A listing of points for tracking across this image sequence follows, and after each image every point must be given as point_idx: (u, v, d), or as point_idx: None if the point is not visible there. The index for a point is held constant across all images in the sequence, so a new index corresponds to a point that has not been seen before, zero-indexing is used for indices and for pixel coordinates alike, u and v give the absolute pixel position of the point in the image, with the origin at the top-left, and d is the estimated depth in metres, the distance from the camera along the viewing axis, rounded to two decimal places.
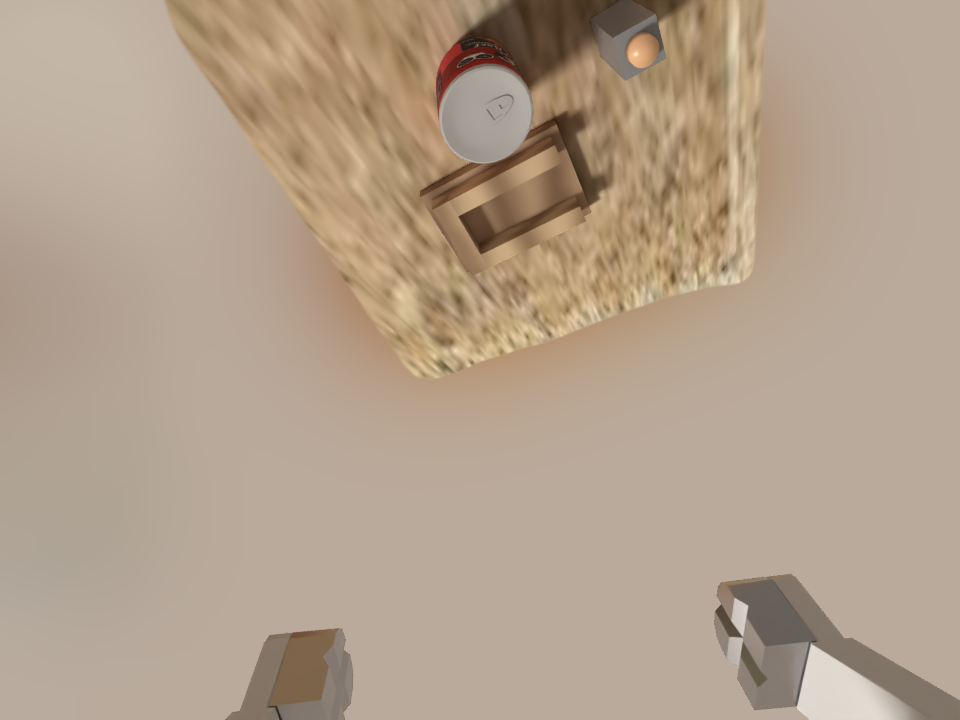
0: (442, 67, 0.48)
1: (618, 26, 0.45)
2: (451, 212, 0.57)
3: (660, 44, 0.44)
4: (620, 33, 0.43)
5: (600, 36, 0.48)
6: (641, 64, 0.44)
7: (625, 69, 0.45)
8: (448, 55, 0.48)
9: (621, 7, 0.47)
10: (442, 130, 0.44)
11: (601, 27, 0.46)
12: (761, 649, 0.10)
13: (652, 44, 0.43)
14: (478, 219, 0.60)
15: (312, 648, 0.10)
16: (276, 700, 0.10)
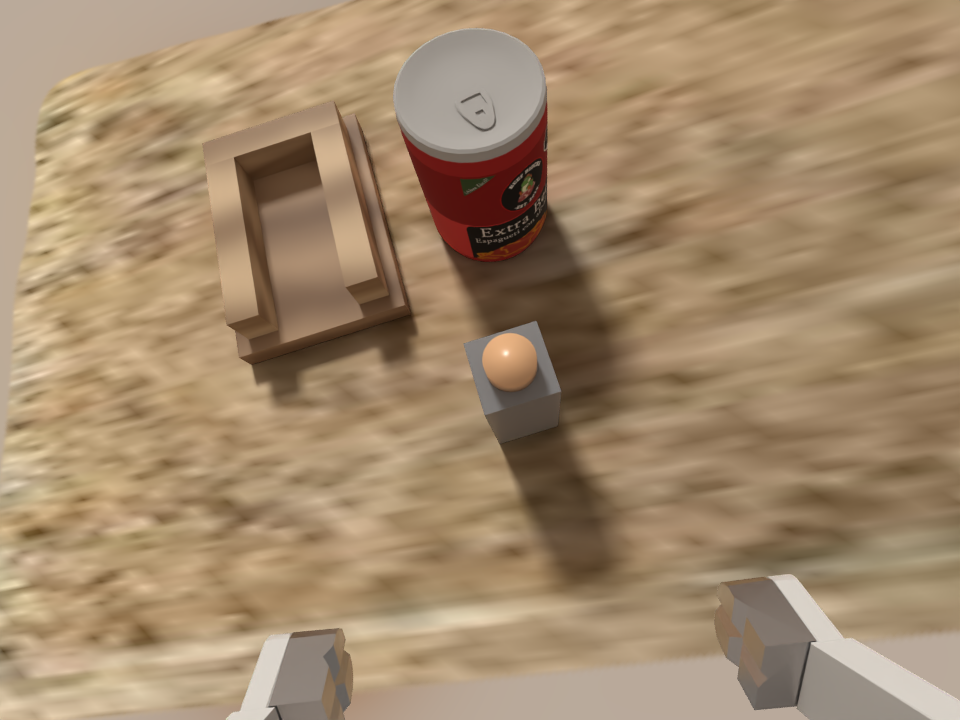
0: None
1: None
2: (319, 124, 0.36)
3: (510, 402, 0.24)
4: (540, 334, 0.25)
5: None
6: (489, 354, 0.24)
7: (481, 343, 0.25)
8: None
9: None
10: (464, 29, 0.27)
11: None
12: (761, 649, 0.10)
13: (519, 371, 0.23)
14: (293, 183, 0.37)
15: (312, 648, 0.10)
16: (276, 700, 0.10)
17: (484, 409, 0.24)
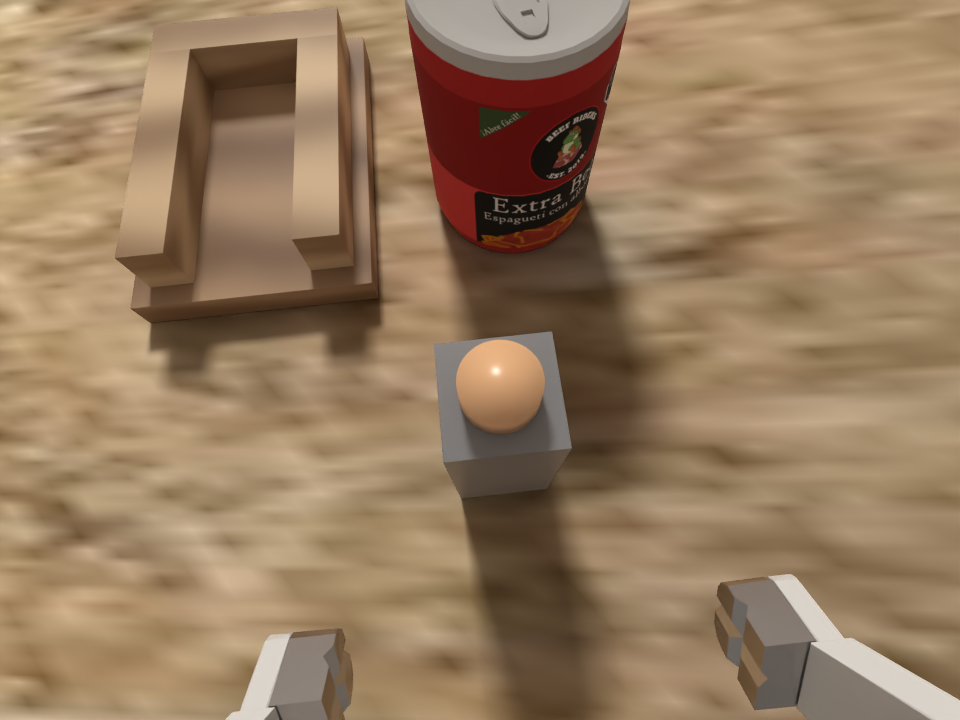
0: None
1: None
2: (312, 30, 0.27)
3: (487, 450, 0.15)
4: (555, 353, 0.16)
5: None
6: (469, 366, 0.15)
7: (462, 349, 0.16)
8: None
9: None
10: None
11: None
12: (761, 649, 0.10)
13: (511, 404, 0.14)
14: (264, 103, 0.29)
15: (312, 648, 0.10)
16: (276, 700, 0.10)
17: (445, 453, 0.15)
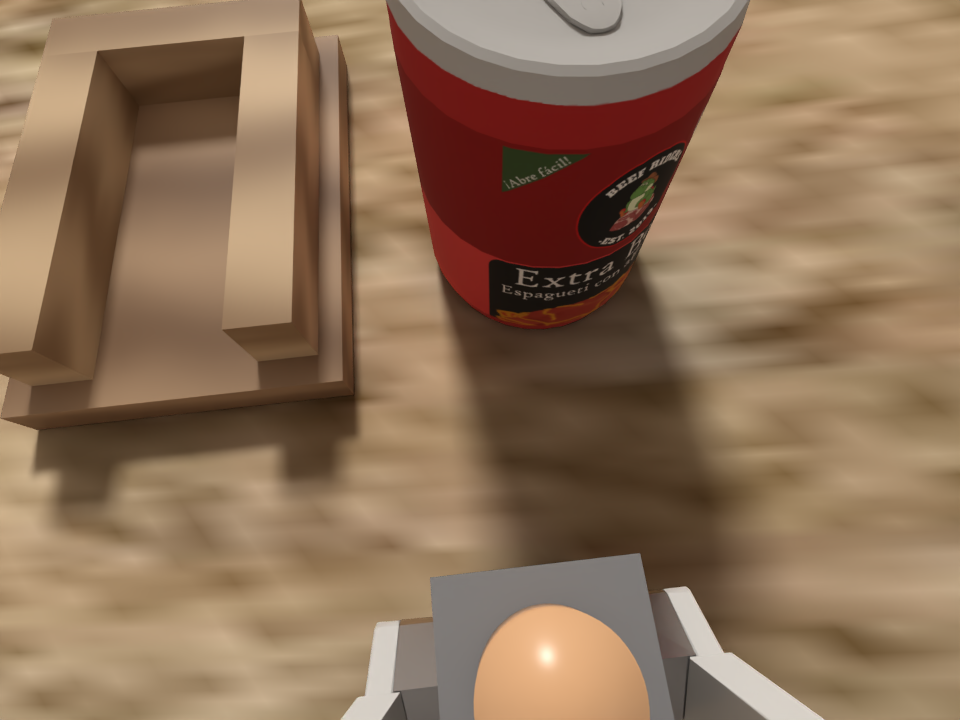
0: None
1: None
2: (264, 26, 0.20)
3: None
4: (647, 596, 0.09)
5: None
6: (500, 672, 0.07)
7: (480, 589, 0.09)
8: None
9: None
10: None
11: None
12: None
13: None
14: (204, 123, 0.22)
15: (425, 635, 0.11)
16: (399, 685, 0.10)
17: None
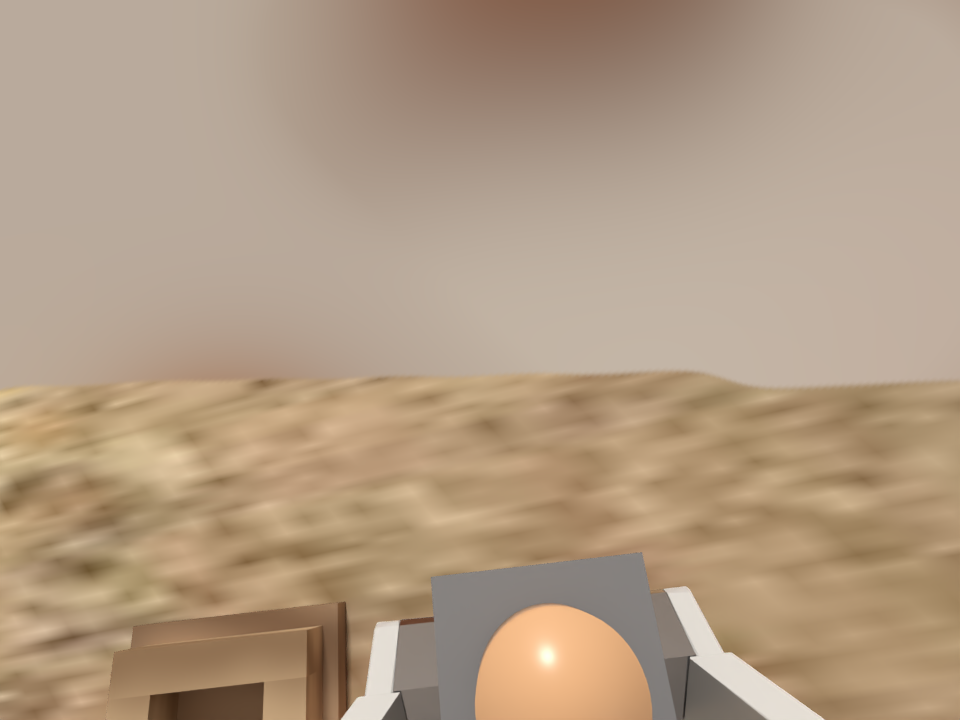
0: None
1: None
2: (279, 670, 0.25)
3: None
4: (649, 595, 0.09)
5: None
6: (502, 671, 0.07)
7: (481, 588, 0.09)
8: None
9: None
10: None
11: None
12: None
13: None
14: (231, 708, 0.27)
15: (425, 635, 0.11)
16: (399, 685, 0.10)
17: None
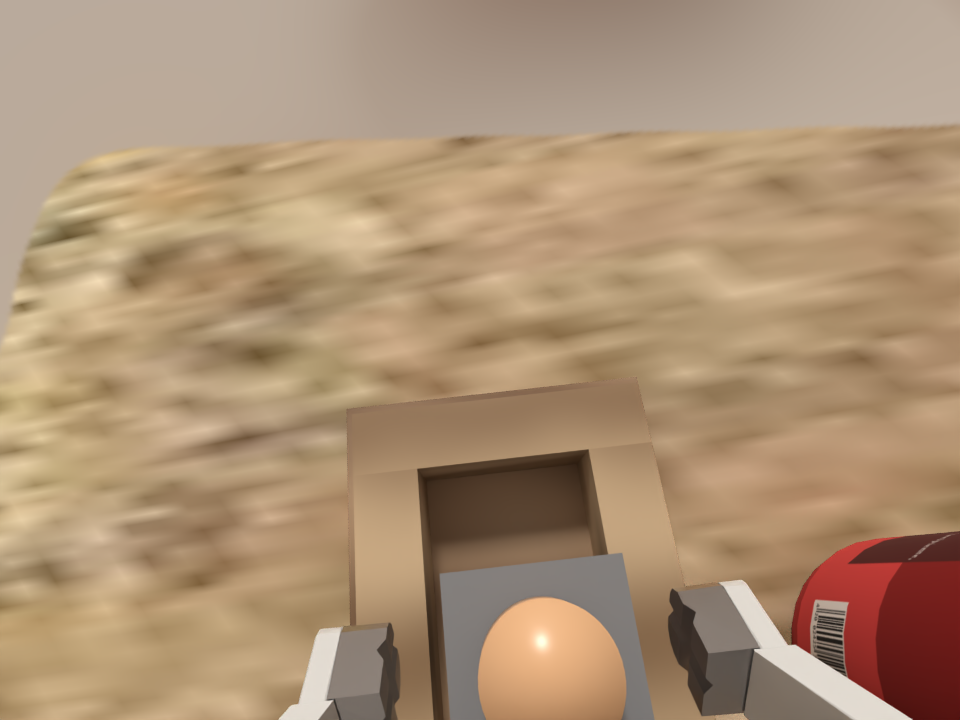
0: None
1: None
2: (609, 433, 0.17)
3: None
4: (628, 590, 0.10)
5: None
6: (500, 653, 0.09)
7: (483, 583, 0.10)
8: None
9: None
10: None
11: None
12: (705, 656, 0.10)
13: None
14: (508, 510, 0.19)
15: (365, 642, 0.10)
16: (334, 693, 0.10)
17: None
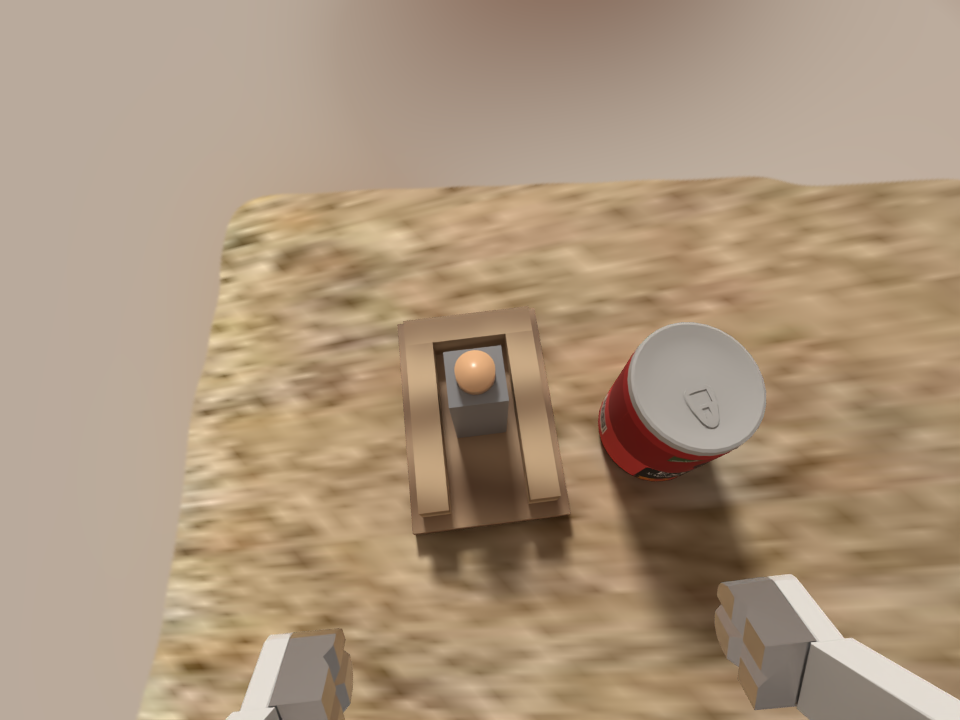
0: None
1: None
2: (514, 327, 0.40)
3: (469, 402, 0.32)
4: None
5: None
6: (460, 363, 0.31)
7: (457, 354, 0.33)
8: None
9: None
10: (695, 324, 0.32)
11: None
12: (761, 649, 0.10)
13: (480, 380, 0.31)
14: None
15: (312, 648, 0.10)
16: (276, 700, 0.10)
17: (449, 403, 0.32)
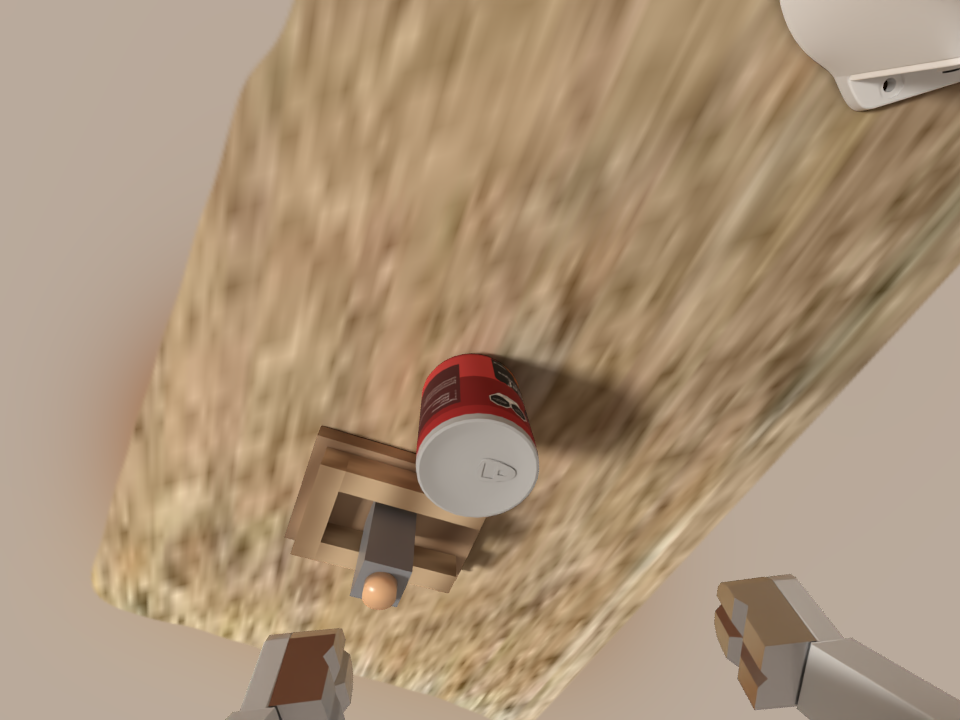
0: (463, 367, 0.40)
1: (381, 545, 0.40)
2: (335, 482, 0.42)
3: (399, 594, 0.40)
4: (373, 561, 0.38)
5: (369, 521, 0.43)
6: (369, 603, 0.38)
7: (356, 588, 0.39)
8: (475, 361, 0.41)
9: (404, 513, 0.44)
10: (428, 443, 0.33)
11: (372, 523, 0.42)
12: (761, 649, 0.10)
13: (389, 597, 0.38)
14: (350, 501, 0.46)
15: (312, 648, 0.10)
16: (276, 700, 0.10)
17: (393, 605, 0.40)
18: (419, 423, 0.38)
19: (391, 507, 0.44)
